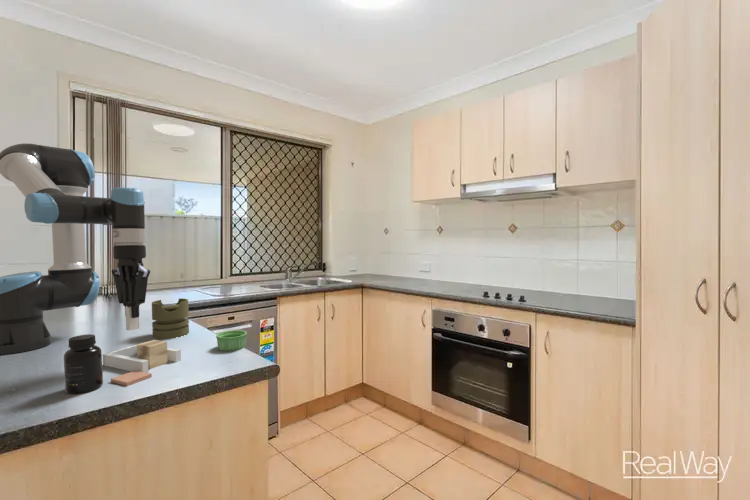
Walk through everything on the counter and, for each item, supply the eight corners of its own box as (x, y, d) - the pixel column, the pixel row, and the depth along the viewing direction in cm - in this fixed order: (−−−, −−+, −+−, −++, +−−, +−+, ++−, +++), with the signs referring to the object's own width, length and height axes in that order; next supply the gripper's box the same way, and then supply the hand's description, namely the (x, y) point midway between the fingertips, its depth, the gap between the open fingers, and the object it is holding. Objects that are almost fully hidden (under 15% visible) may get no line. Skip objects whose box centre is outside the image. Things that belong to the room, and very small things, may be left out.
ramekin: (245, 342, 122) (245, 328, 122) (248, 349, 114) (248, 335, 114) (215, 345, 118) (215, 332, 118) (216, 353, 110) (216, 339, 110)
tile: (110, 382, 89) (110, 378, 89) (135, 373, 94) (135, 370, 94) (127, 385, 86) (127, 382, 86) (151, 376, 92) (151, 373, 92)
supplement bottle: (79, 383, 88) (77, 333, 88) (109, 382, 89) (108, 332, 88) (57, 395, 81) (54, 341, 81) (90, 394, 82) (88, 340, 81)
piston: (151, 300, 133) (187, 297, 138) (152, 333, 133) (188, 329, 139) (151, 305, 123) (189, 302, 129) (152, 341, 123) (190, 336, 129)
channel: (103, 365, 100) (102, 354, 100) (142, 353, 110) (142, 343, 110) (142, 373, 94) (142, 362, 94) (180, 360, 104) (180, 349, 104)
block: (137, 366, 99) (136, 344, 99) (155, 361, 104) (154, 339, 103) (150, 369, 97) (149, 346, 97) (167, 363, 102) (166, 341, 102)
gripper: (100, 245, 101) (103, 330, 102) (131, 244, 96) (135, 334, 97) (127, 244, 108) (130, 324, 109) (158, 243, 103) (161, 328, 104)
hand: (132, 329), depth 103 cm, fingers closed
